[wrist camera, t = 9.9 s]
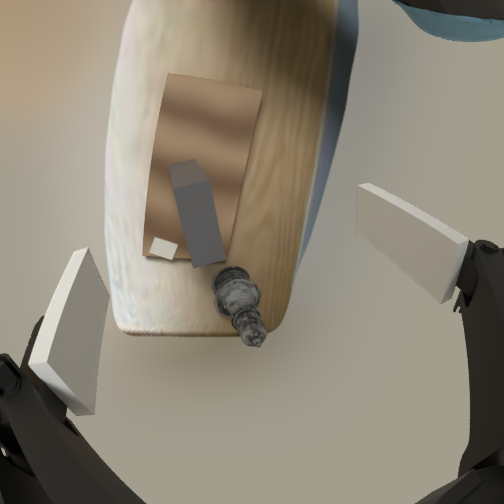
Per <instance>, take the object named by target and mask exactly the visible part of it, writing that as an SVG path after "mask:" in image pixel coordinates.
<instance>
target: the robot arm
mask: <svg viewBox="0 0 504 504" xmlns="http://www.w3.org/2000/svg"><path fill="white" fill-rule="evenodd" d="M393 1H394V2H395V3H396V4H398V5H399V6H400V7H401V8H402V9H403V10H404V11H405V12H406V14H407V15H408V16H409V17H410V18H411V20H412V21H413V22H414V23H415V24H416V25H417V26H418V27H419V28H420V29H422V30H423V31H425V32H426V33H428V34H431V35H433V36H436V37H441V38H443V39H446V40H452V41H462V42H481V41H490V40H496V39H500V38H503V37H504V0H393ZM356 234H357V235H359V236H360V237H362V238H363V239H364V240H365V241H367V242H368V243H369V244H370V245H371V246H373V247H374V248H375V249H377V250H378V251H379V252H380V253H381V254H383V255H384V256H385V257H386V258H388V259H389V260H390V261H391V262H392V263H394V264H395V265H396V266H397V267H398V268H400V269H401V270H402V271H403V272H404V273H406V274H407V275H408V276H409V277H410V278H411V279H413V280H414V281H415V282H416V283H417V284H418V285H419V286H421V287H422V288H423V289H424V290H425V291H426V292H427V293H429V294H430V295H431V296H432V297H433V298H434V299H435V300H436V301H437V302H438V303H439V304H442V303H444V302H446V301H447V300H449V299H451V298H452V295H453V293H454V290H455V287H456V286H457V287H458V288H459V289H461V290H460V292H459V295H458V298H457V301H456V303H455V306H454V309H453V312H456V309H457V307H458V306H460V310H459V313H462V320H463V326H464V333H465V340H466V348H467V357H468V369H469V385H470V436H469V443H468V446H467V448H466V450H465V452H464V453H463V455H462V459H461V461H460V466H459V472H458V478H457V479H456V480H454V481H452V482H451V483H448V484H447V485H445V486H443V487H441V488H439V489H437V490H435V491H433V492H431V493H430V494H429V495H427V496H426V497H424V498H423V499H421V500H420V501H418V502H417V503H415V504H504V248H499V247H498V246H497V245H495V244H494V243H492V242H490V241H486V240H477V241H476V242H475V243H473V242H471V241H470V240H469V239H468V238H466V237H465V236H463V235H462V234H460V233H459V232H457V231H455V230H454V229H452V228H451V227H449V226H447V225H446V224H444V223H442V222H441V221H439V220H437V219H435V218H434V217H432V216H430V215H429V214H427V213H425V212H423V211H422V210H420V209H418V208H416V207H414V206H412V205H411V204H409V203H407V202H405V201H403V200H402V199H400V198H398V197H396V196H394V195H392V194H390V193H388V192H386V191H384V190H382V189H380V188H378V187H376V186H374V185H372V184H370V183H365V184H359V185H357V211H356ZM109 297H110V295H109V293H108V291H107V289H106V287H105V285H104V283H103V280H102V278H101V276H100V274H99V271H98V269H97V267H96V265H95V262H94V260H93V257H92V255H91V253H90V250H89V248H88V247H87V248H84V249H81V250H77V251H74V253H73V255H72V257H71V259H70V261H69V263H68V265H67V267H66V269H65V271H64V273H63V275H62V277H61V280H60V282H59V284H58V286H57V288H56V291H55V293H54V295H53V297H52V300H51V302H50V305H49V307H48V309H47V312H46V314H45V316H42V317H41V318H40V320H39V321H38V322H37V324H36V325H35V327H34V329H33V332H32V334H31V338H30V340H29V343H28V346H27V348H26V351H25V354H24V357H23V360H22V363H21V366H20V368H19V367H18V366H17V365H16V364H15V362H14V361H13V360H12V359H11V357H10V356H9V355H8V354H5V353H4V354H0V504H146V503H145V502H144V501H143V500H142V499H140V498H139V497H138V496H137V495H136V494H135V493H134V492H133V491H132V490H131V489H130V488H129V487H128V486H127V485H126V484H125V483H124V482H123V481H122V480H121V479H120V478H119V477H118V476H117V475H116V474H115V473H114V472H113V471H112V470H111V469H110V468H109V467H108V466H107V464H106V463H105V462H104V461H103V460H102V459H101V458H100V457H99V455H98V454H97V453H96V452H95V451H94V449H92V447H91V446H90V445H89V444H88V442H87V441H86V440H85V438H84V437H83V436H82V435H81V433H80V432H79V431H78V429H77V428H76V427H75V426H74V424H73V423H72V421H71V420H70V419H68V418H67V417H66V412H67V407H68V408H69V409H70V410H71V411H72V412H73V413H74V414H75V415H76V416H83V415H94V414H95V400H96V399H95V398H96V386H97V376H98V367H99V359H100V351H101V343H102V337H103V331H104V324H105V318H106V312H107V307H108V302H109ZM1 447H2V448H3V449H4V450H5V453H6V456H4V455H3V453H2V451H1Z"/></svg>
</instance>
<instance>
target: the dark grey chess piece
mask: <svg viewBox="0 0 504 504" xmlns="http://www.w3.org/2000/svg"><path fill="white" fill-rule="evenodd" d="M212 290H213V292H214V294H215V295H216V296H215V301H214V302H215V307H216V309H217V311H218V312H219V313H220V314H222V315H224V316H226V317H230V318H232V320H231V322H232V325H233V327H234V328H235V329H237V330H238V332H239V334H240V337H241V339H242V341H243V342H244V344H246V345H248V346H256V347H260V346H261V344H262V342H263V341H264V340H265V338H266V336H267V331H266V328H265V326H264V324H263V322H262V320H261V318H262V313H261V311H260V310H259V309H258V308H257V305H258V303H259V301H260V297H261V293H260V289H259V287H258V286H257V285H256V283H254V282H253V281H251V280H250V276H249V274H248V273H247V272H246V270H244V269H242V268H240V267H228V268H225V269H223V270H221V271H220V272H218V273H217V274H216V276H215V277H214V279H213V281H212Z"/></svg>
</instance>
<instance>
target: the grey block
mask: <svg viewBox="0 0 504 504" xmlns="http://www.w3.org/2000/svg"><path fill="white" fill-rule="evenodd" d="M170 173H171V180H172V187H173V192H174V196H175V200H176V204H177V208H178V212H179V216H180V220H181V224H182V228H183V232H184V235H185V239H186V243H187V247H188V250H189V254H190V257H191V261H192V265H193V268H197V267H200V266H204V265H208V264H211V263H215V262H219V261H222V260H226V257H225V253H224V248H223V243H222V238H221V233H220V229H219V224H218V219H217V214H216V209H215V204H214V199H213V194H212V189H211V183H210V180H209V178H208V177H207V175H206V174H205V173H204V171H203V170H202V169H201V167H200V166H199V164H198V163H197V162H196V160H195V159H192V160H188V161H184V162H180V163H176V164H172V165H170Z"/></svg>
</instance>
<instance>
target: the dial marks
mask: <svg viewBox="0 0 504 504" xmlns="http://www.w3.org/2000/svg"><path fill="white" fill-rule="evenodd" d="M177 247H178V244H175V243H172V242H169V241H166V240H163V239H160V238H157V237H155V238H154V241H153V243H152V246H151V249H150V251H149V253H151V254H154V255H157V256H161V257H164V258H167V259H170V260H172V259H173V256H174V254H175V251H176V249H177Z"/></svg>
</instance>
